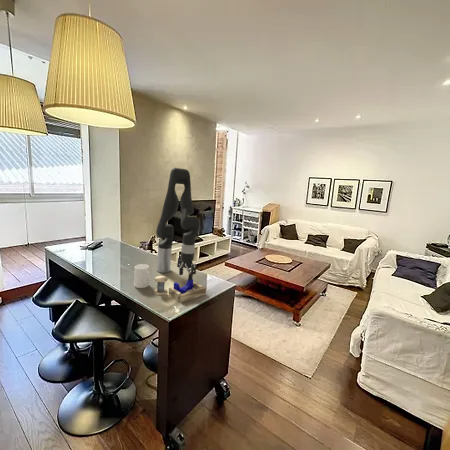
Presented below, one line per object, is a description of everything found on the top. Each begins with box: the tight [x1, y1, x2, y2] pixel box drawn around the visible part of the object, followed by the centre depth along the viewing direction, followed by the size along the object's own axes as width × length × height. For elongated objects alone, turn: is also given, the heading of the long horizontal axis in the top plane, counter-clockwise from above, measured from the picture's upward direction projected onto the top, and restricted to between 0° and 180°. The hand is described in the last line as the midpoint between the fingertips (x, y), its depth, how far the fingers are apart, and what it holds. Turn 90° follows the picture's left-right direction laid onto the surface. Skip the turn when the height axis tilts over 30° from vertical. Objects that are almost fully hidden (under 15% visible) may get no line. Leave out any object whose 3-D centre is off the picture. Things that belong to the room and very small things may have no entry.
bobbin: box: [153, 275, 168, 296], centre depth 144 cm, size 7×7×9 cm
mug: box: [133, 263, 151, 289], centre depth 150 cm, size 12×8×12 cm
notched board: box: [168, 280, 207, 304], centre depth 146 cm, size 12×18×4 cm, turn 137°
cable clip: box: [173, 278, 194, 294], centre depth 147 cm, size 12×4×6 cm, turn 138°
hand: (185, 277), depth 146 cm, fingers open, 8 cm apart
